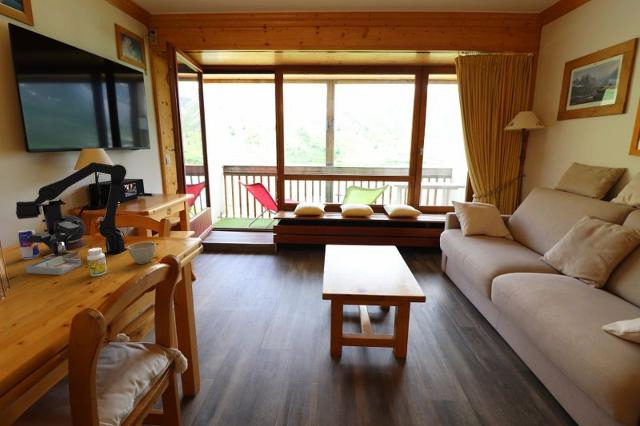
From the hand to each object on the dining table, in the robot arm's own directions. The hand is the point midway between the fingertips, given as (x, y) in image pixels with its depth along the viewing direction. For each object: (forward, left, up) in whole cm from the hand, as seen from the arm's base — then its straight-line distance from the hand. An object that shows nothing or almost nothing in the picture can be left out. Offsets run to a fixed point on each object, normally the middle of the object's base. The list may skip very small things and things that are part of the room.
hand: (60, 252), depth 128 cm
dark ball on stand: (+11, -16, -3) cm, 20 cm away
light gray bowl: (-35, -2, -3) cm, 35 cm away
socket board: (0, 0, -3) cm, 3 cm away
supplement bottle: (-26, +11, -3) cm, 28 cm away
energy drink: (+15, -1, -3) cm, 16 cm away
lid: (-4, +9, -2) cm, 10 cm away
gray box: (-6, +9, -3) cm, 11 cm away
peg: (0, 0, -1) cm, 1 cm away
